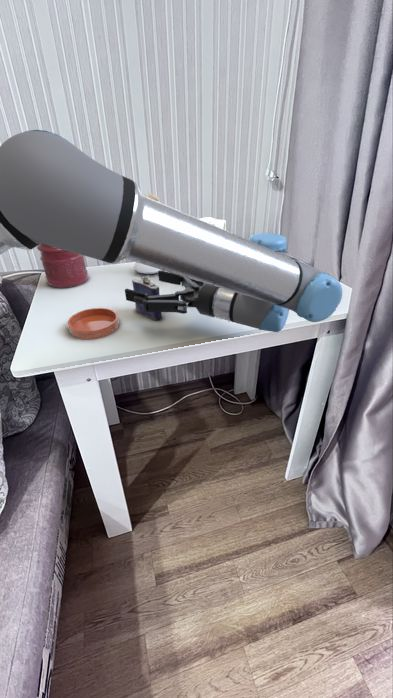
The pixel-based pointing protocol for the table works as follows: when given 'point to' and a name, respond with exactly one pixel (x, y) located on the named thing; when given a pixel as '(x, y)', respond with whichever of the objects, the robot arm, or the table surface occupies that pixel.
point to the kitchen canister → (62, 267)
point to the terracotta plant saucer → (93, 323)
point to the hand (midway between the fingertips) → (143, 284)
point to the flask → (150, 289)
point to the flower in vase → (142, 267)
